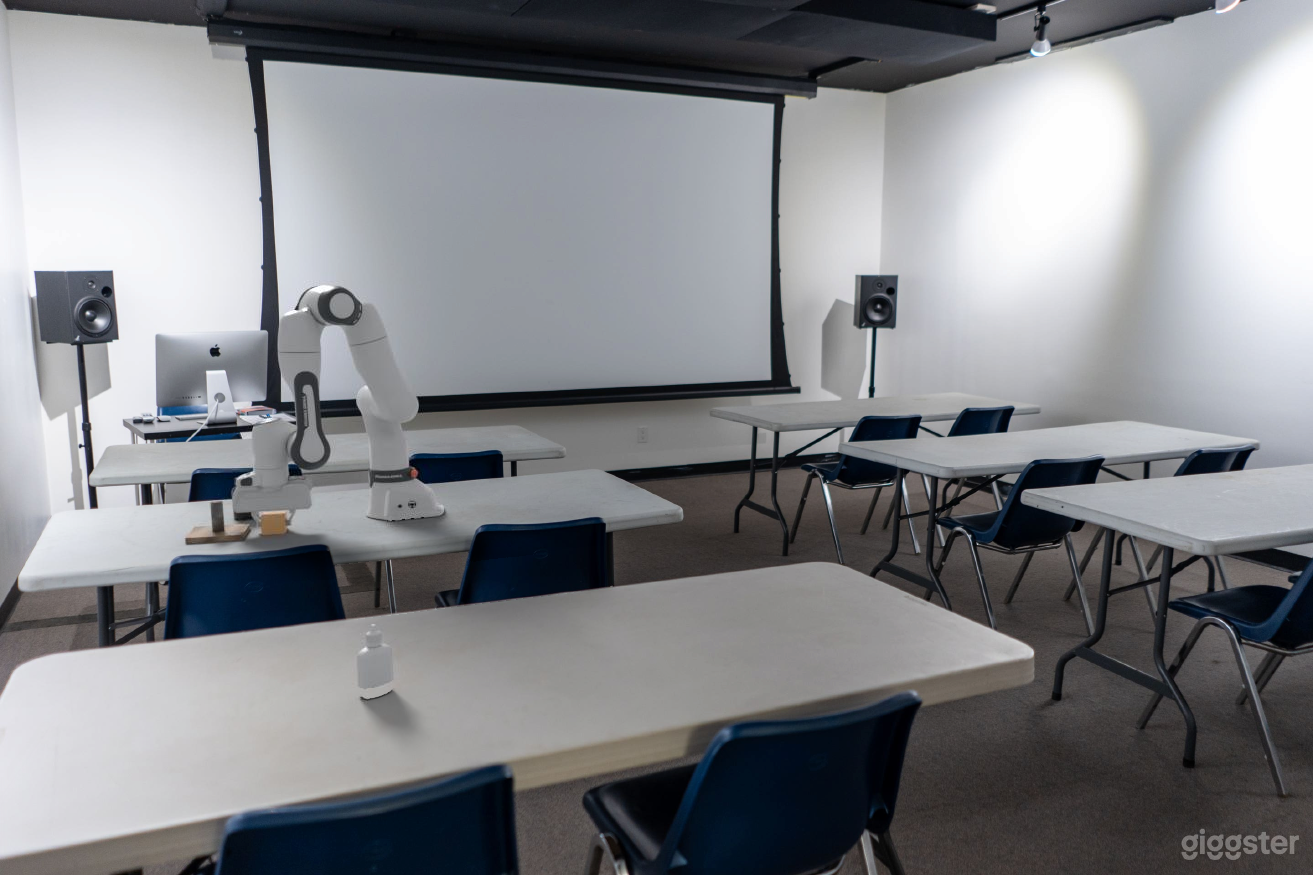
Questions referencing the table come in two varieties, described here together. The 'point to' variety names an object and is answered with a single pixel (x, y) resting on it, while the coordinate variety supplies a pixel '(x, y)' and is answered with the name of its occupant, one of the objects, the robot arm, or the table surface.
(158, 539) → the table surface
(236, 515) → the supplement bottle
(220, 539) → the post board
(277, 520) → the peach wooden cube
